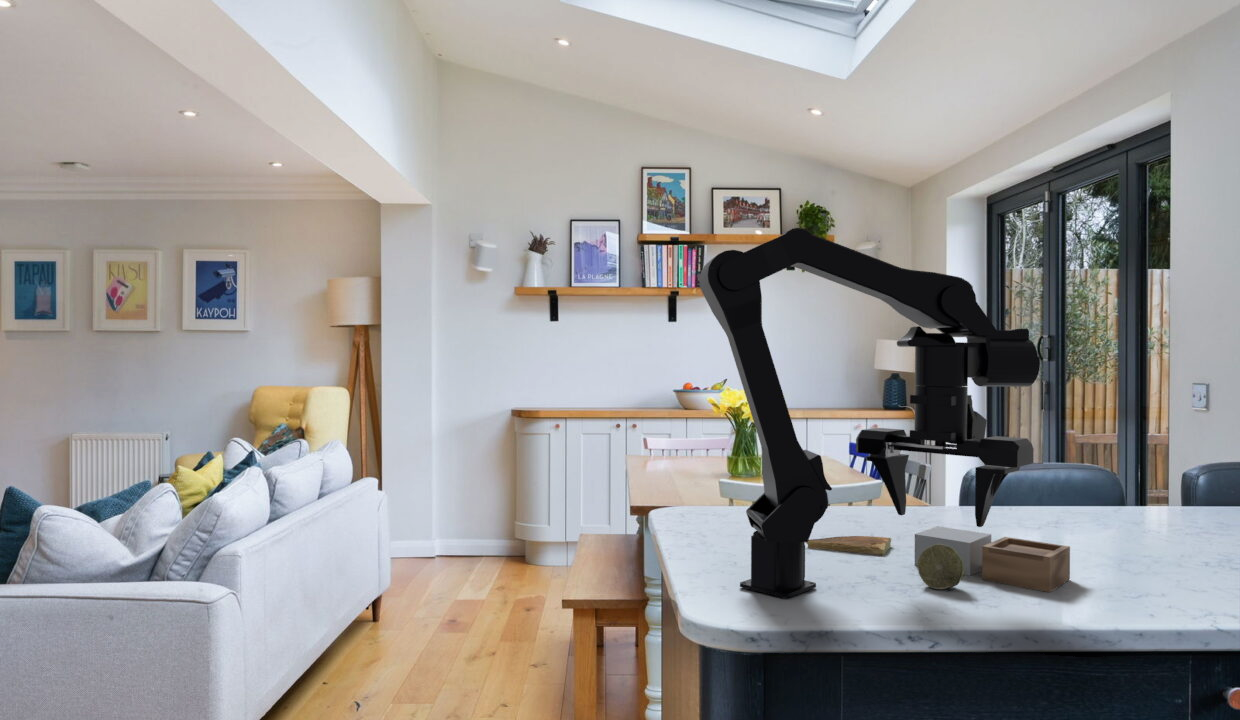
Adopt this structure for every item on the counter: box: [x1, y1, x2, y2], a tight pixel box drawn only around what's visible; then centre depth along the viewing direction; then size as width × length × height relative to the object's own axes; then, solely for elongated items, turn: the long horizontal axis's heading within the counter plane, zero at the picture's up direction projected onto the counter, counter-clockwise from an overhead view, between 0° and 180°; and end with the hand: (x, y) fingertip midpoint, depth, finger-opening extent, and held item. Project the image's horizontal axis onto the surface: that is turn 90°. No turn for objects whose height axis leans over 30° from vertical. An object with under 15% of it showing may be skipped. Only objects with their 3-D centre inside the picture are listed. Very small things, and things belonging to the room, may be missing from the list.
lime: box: [917, 544, 964, 591], centre depth 94 cm, size 4×5×5 cm
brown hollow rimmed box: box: [981, 536, 1071, 593], centre depth 98 cm, size 8×8×4 cm
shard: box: [805, 535, 892, 556], centre depth 115 cm, size 11×8×2 cm
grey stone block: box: [914, 526, 992, 576], centre depth 104 cm, size 7×7×4 cm
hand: (939, 520), depth 94 cm, fingers open, 9 cm apart
